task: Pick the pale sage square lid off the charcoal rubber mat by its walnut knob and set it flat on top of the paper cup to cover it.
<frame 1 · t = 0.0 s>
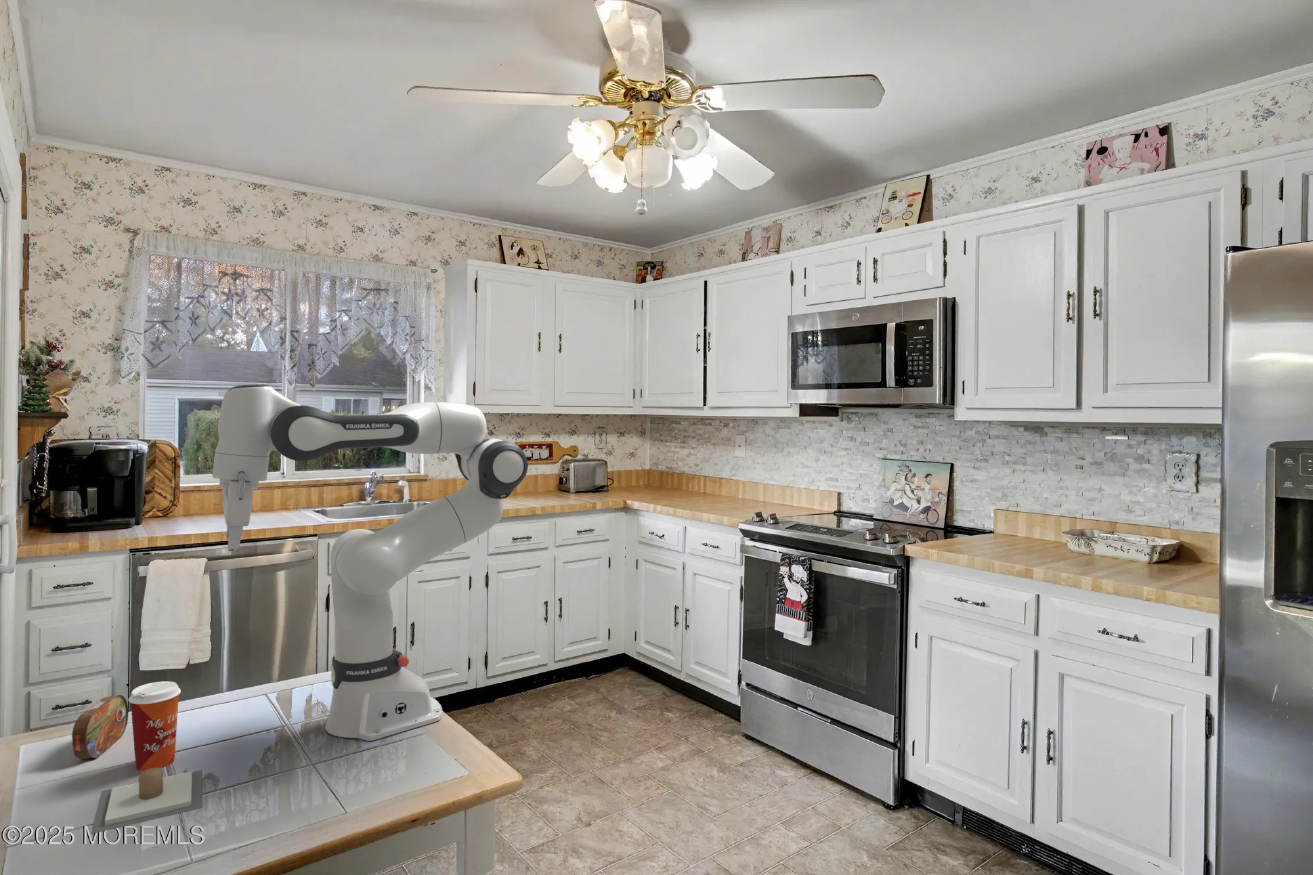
hand: (232, 543, 134), 39 cm above the table, tool pointing down, fingers open, 8 cm apart
paper cup: (155, 766, 129), on the table
mat: (151, 801, 117), on the table
tin: (101, 748, 135), on the table
lid: (151, 799, 117), resting on mat
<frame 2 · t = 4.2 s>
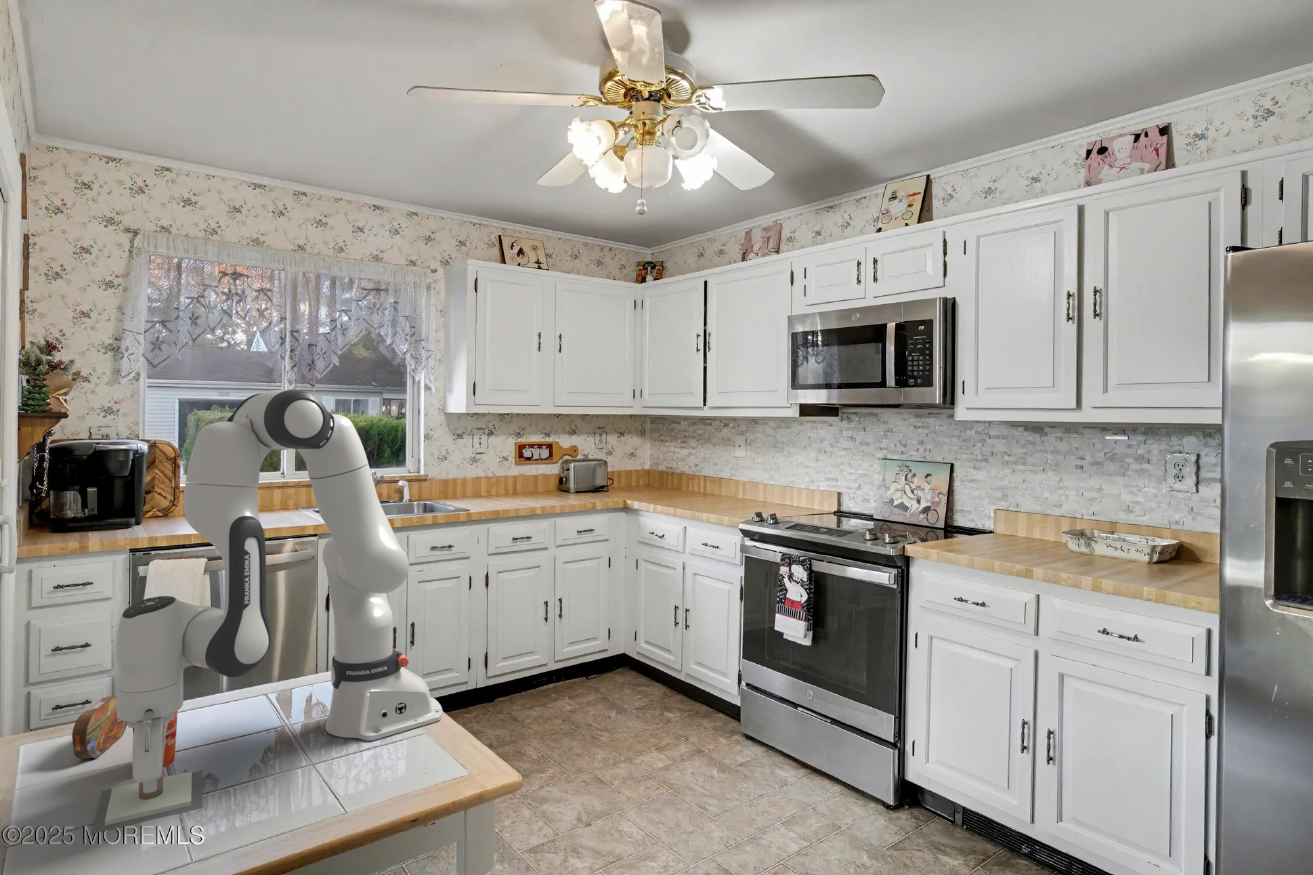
hand: (151, 783, 117), 3 cm above the table, tool pointing down, fingers closed on lid, 3 cm apart
lid: (151, 799, 117), resting on mat, touching gripper
everything else where it was.
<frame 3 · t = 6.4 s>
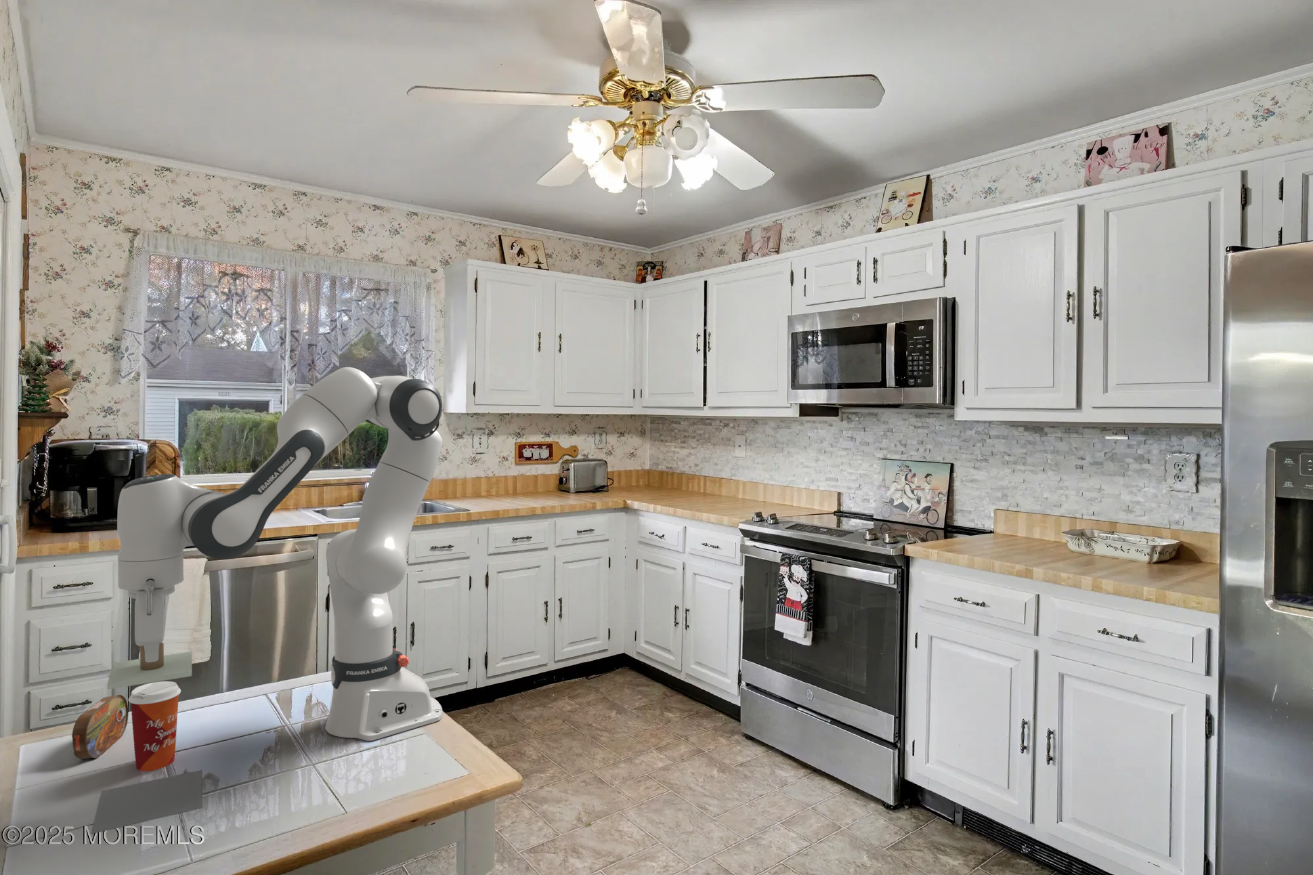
hand: (152, 656, 119), 23 cm above the table, tool pointing down, fingers closed on lid, 3 cm apart
lid: (152, 671, 119), point 20 cm above the table, touching gripper
everything else where it was.
when the fingers open (17 cm above the table, at t = 9.0 s): lid drops 1 cm, resting on paper cup.
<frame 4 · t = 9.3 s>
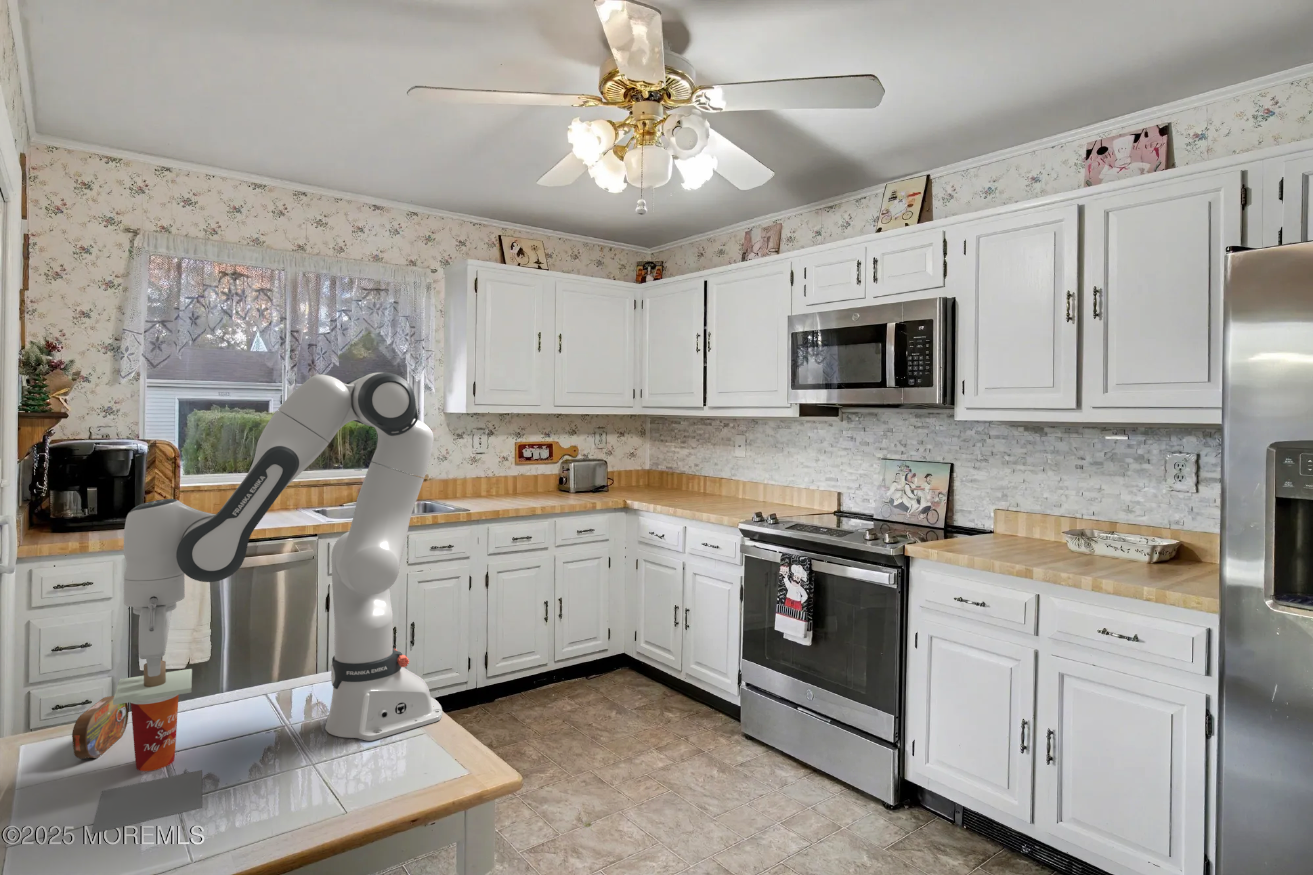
hand: (155, 668, 128), 17 cm above the table, tool pointing down, fingers open, 6 cm apart
paper cup: (155, 766, 129), on the table, touching lid
lid: (154, 687, 128), point 14 cm above the table, touching paper cup
everything else where it was.
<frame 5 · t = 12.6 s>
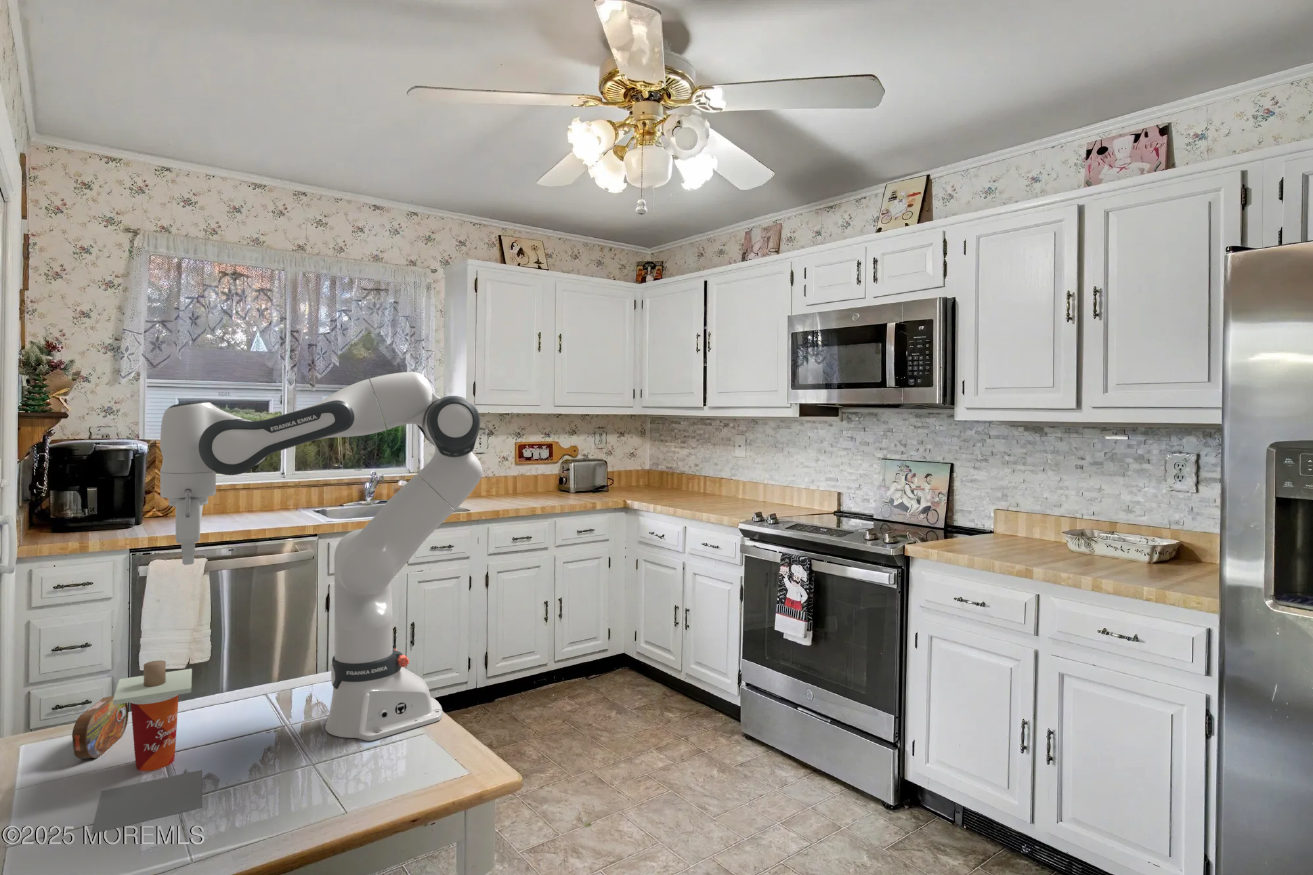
hand: (188, 559, 137), 35 cm above the table, tool pointing down, fingers open, 8 cm apart
nothing on the table moved.
at the end: lid 0.1 cm off-centre on the paper cup, point 14.2 cm above the paper cup's base; lid tilted 0°; paper cup tilted 0° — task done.
